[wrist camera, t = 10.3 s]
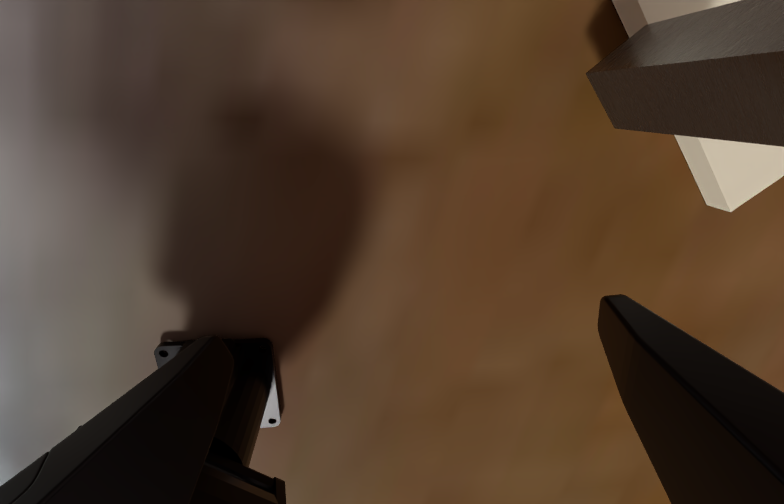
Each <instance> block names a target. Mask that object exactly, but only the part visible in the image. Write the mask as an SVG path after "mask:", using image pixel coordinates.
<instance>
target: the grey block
mask: <svg viewBox="0 0 784 504" xmlns="http://www.w3.org/2000/svg"><path fill="white" fill-rule="evenodd" d="M586 75H587V77H588V79H589V81H590V83H591V84H592V86H593V88H594V90H595V92H596V94H597V96H598V98H599V100H600V101H601V103H602V105H603V107H604V109H605V111H606V113H607V115H608V117H609V119H610V120H611V122H612V124H613V126H614V128H617V129H626V130H635V131H644V132H653V133H662V134H671V135H681V136H690V137H699V138H708V139H717V140H726V141H735V142H745V143H754V144H763V145H772V146H781V147H784V0H740V1H737V2H733V3H729V4H725V5H721V6H717V7H713V8H709V9H706V10H702V11H698V12H694V13H690V14H686V15H682V16H678V17H674V18H671V19H667V20H663V21H659V22H655V23H651V24H647V25H645V26H644V27H642V28H641V29H640V30H639V31H638V32H636V33H635V34H634V35H633V36H631V37H630V38H629V39H628V40H626V41H625V42H624V43H623V44H621V45H620V46H619V47H618V48H616V49H615V50H614V51H613V52H612V53H610V54H609V55H608V56H607V57H605V58H604V59H603V60H602V61H600V62H599V63H598V64H597V65H595V66H594V67H593V68H592V69H590V70H589V71H588V72H587V73H586Z"/></svg>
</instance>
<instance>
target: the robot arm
mask: <svg viewBox="0 0 784 504" xmlns="http://www.w3.org/2000/svg"><path fill="white" fill-rule="evenodd" d="M598 332H599V336H600V339H601V342H602V344H603V347H604V350H605V353H606V356H607V359H608V362H609V365H610V367H611V370H612V373H613V376H614V379H615V382H616V385H617V388H618V391H619V393H620V396H621V399H622V401H623V404H624V406H625V408H626V410H627V413H628V415H629V417H630V419H631V421H632V423H633V425H634V427H635V429H636V431H637V433H638V435H639V438H640V440H641V442H642V444H643V446H644V448H645V450H646V452H647V454H648V456H649V458H650V460H651V462H652V464H653V466H654V469H655V471H656V473H657V475H658V477H659V479H660V481H661V483H662V485H663V487H664V489H665V491H666V493H667V495H668V498H669V500H670V502H671V504H784V393H783V392H782V391H780V390H779V389H777V388H775V387H774V386H772V385H770V384H769V383H767V382H766V381H764V380H762V379H761V378H759V377H757V376H756V375H754V374H753V373H751V372H749V371H748V370H746V369H744V368H743V367H741V366H740V365H738V364H736V363H735V362H733V361H731V360H730V359H728V358H727V357H725V356H723V355H722V354H720V353H718V352H717V351H715V350H714V349H712V348H710V347H709V346H707V345H705V344H704V343H702V342H701V341H699V340H697V339H696V338H694V337H692V336H691V335H689V334H688V333H686V332H684V331H683V330H681V329H679V328H678V327H676V326H675V325H673V324H671V323H670V322H668V321H666V320H665V319H663V318H662V317H660V316H658V315H657V314H655V313H653V312H652V311H650V310H649V309H647V308H645V307H644V306H642V305H640V304H639V303H637V302H636V301H634V300H632V299H631V298H629V297H627V296H625V295H621V294H619V295H609V296H604V297H602V299H601V301H600V308H599V317H598ZM260 346H265V347H266V349H262V348H261V347H260ZM163 350H165V351H167V352H168V353H165V352H163ZM154 355H155V358H156V362H157V366H158V370H156V371H155V372H154V373H152V374H151V375H150V376H148V377H147V378H146V379H144V380H143V381H141V382H140V383H139V384H137V385H136V386H135V387H133V388H132V389H131V390H129V391H128V392H127V393H125V394H124V395H123V396H121V397H120V398H119V399H117V400H116V401H115V402H113V403H112V404H111V405H109V406H108V407H107V408H105V409H104V410H103V411H101V412H100V413H99V414H97V415H96V416H95V417H93V418H92V419H91V420H89V421H88V422H87V423H85V424H84V425H83V426H79V427H78V429H77V430H76V431H75V432H73V433H72V434H71V435H69V436H68V437H67V438H65V439H64V440H63V441H61V442H60V443H59V444H57V445H56V446H55V447H53V448H52V449H51V450H50V452H47V453H45V454H44V455H42V456H41V457H40V458H38V459H37V460H36V461H34V462H33V463H32V464H30V465H29V466H28V467H26V468H25V469H24V470H22V471H21V472H20V473H18V474H17V475H15V476H14V477H13V478H11V479H10V480H9V481H7V482H6V483H5V484H3V485H2V486H0V504H286V494H285V481H283V480H281V479H278V478H276V477H274V478H271V477H269V476H266V475H264V474H262V473H260V472H257V471H255V470H253V469H251V468H249V464H250V460H251V457H252V453H253V450H254V446H255V443H256V440H257V436H258V433H259V429H260V428H265V427H275V426H277V425H279V423H280V420H281V409H280V401H279V393H278V385H277V377H276V369H275V361H274V352H273V345H272V342H271V341H270V340H268V339H266V338H256V339H221V338H220V337H219V336H216V335H213V336H204V337H201V338H199V339H198V340H188V341H182V342H164V343H161V344H159V345H158V347H157V348H156V349H155V351H154ZM271 418H274V419H271Z"/></svg>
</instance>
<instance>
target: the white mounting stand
mask: <svg viewBox="0 0 784 504" xmlns="http://www.w3.org/2000/svg"><path fill="white" fill-rule="evenodd" d="M737 1H740V0H612V2H613V4H614V6H615V8H616V10H617V13H618V15H619V17H620V19H621V21H622V23H623V25H624V28H625V30H626V32H627V34H628V36H629V38H630V37H631V36H633V35H634V34H635V33H636V32H638V31H639V30H640V29H641V28H642V27H644V26H645V25H647V24H651V23H655V22H659V21H663V20H667V19H671V18H674V17H678V16H682V15H686V14H690V13H694V12H698V11H702V10H706V9H709V8H713V7H717V6H721V5H725V4H729V3H733V2H737ZM675 137H676V140H677V142H678V144H679V146H680V148H681V150H682V152H683V155H684V157H685V159H686V161H687V163H688V165H689V168H690V170H691V172H692V174H693V176H694V178H695V180H696V183H697V185H698V187H699V189H700V191H701V193H702V196H703V198H704V200H705V202H706V204H707V205H709V206H712V207H715V208H719V209H722V210H725V211H729V212H732V211H733V210H734V209H736V208H737V207H739V206H740V205H742V204H743V203H745V202H746V201H748V200H749V199H751V198H752V197H753V196H755V195H756V194H758V193H759V192H761V191H762V190H764V189H765V188H767V187H768V186H770V185H771V184H772V183H774V182H775V181H777V180H778V179H780V178H781V177H783V176H784V147H781V146H772V145H763V144H754V143H745V142H735V141H726V140H717V139H708V138H699V137H690V136H681V135H675Z"/></svg>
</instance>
